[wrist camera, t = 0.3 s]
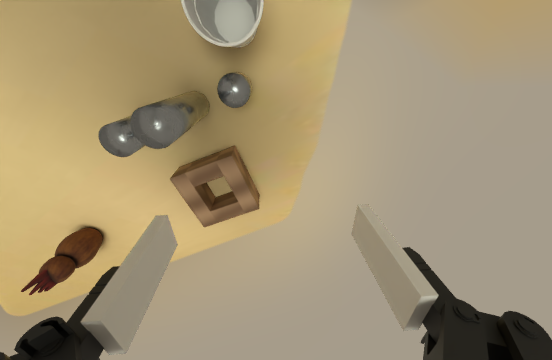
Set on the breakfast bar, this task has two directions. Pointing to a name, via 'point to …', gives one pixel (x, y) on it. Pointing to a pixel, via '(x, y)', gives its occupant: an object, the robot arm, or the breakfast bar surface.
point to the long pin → (168, 119)
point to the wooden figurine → (67, 259)
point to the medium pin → (119, 138)
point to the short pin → (234, 89)
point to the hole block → (200, 196)
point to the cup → (224, 20)
